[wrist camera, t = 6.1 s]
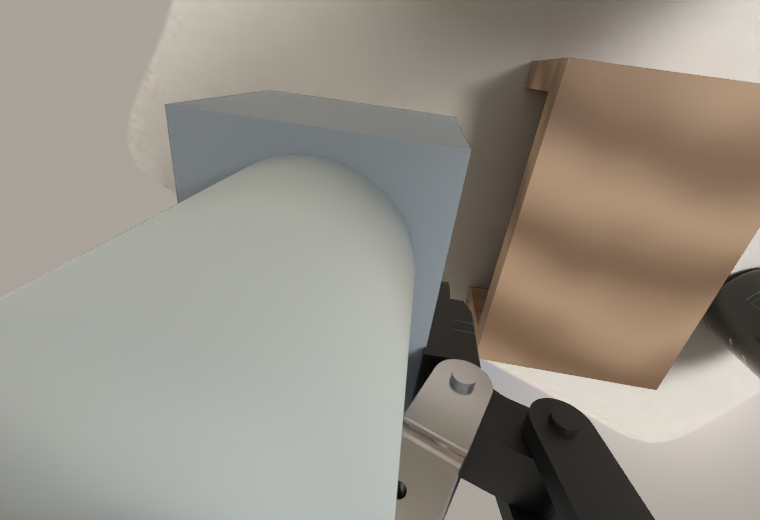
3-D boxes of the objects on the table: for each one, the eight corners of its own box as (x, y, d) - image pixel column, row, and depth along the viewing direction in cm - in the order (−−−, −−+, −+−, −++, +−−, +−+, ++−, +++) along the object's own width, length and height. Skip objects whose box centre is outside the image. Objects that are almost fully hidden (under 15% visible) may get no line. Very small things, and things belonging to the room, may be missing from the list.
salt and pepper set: (270, 90, 11) (-346, 172, 2) (455, 116, 11) (557, 326, 2) (273, 367, 16) (84, 725, 7) (399, 390, 16) (359, 791, 7)
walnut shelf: (531, 61, 23) (568, 57, 17) (731, 88, 23) (842, 94, 17) (466, 301, 32) (474, 357, 25) (611, 326, 31) (656, 389, 25)
